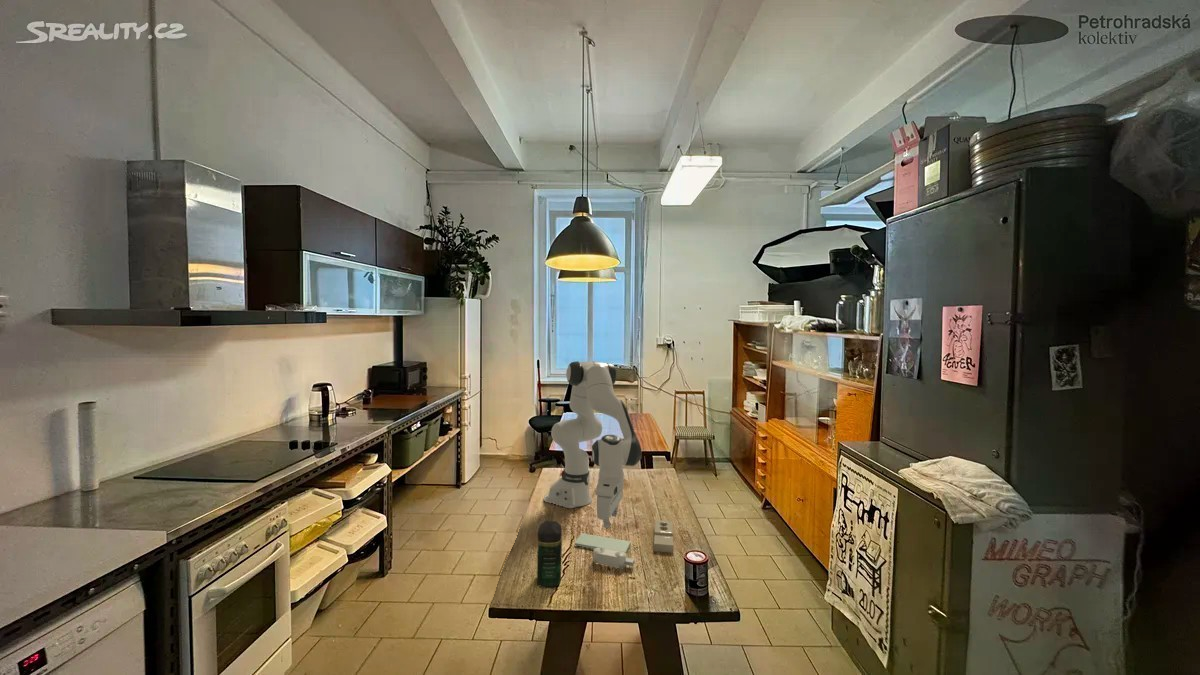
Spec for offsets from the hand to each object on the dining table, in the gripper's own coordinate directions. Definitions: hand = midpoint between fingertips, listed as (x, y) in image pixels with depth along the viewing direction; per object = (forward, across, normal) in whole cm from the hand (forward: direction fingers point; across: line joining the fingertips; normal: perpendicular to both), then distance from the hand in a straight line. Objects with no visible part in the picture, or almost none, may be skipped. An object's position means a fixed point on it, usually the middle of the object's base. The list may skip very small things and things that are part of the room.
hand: (610, 521), depth 156 cm
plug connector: (+15, 0, +1) cm, 15 cm away
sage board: (+15, -11, -6) cm, 20 cm away
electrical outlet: (+16, -23, +15) cm, 32 cm away
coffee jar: (+15, +16, -16) cm, 27 cm away
